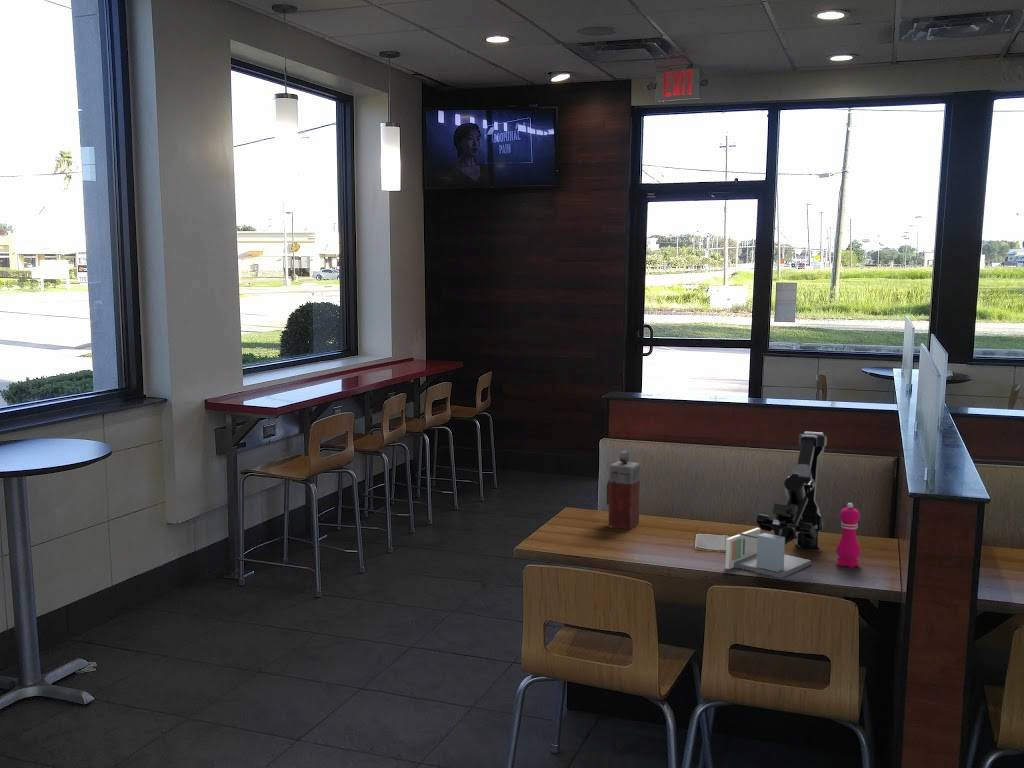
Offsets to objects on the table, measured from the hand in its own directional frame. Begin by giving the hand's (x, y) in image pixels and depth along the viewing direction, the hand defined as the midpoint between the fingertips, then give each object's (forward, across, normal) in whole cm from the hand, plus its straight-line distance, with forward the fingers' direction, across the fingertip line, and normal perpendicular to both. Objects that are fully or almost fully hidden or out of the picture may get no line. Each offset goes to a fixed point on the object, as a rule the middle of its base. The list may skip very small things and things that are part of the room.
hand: (775, 549), depth 277 cm
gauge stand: (+3, -4, +7) cm, 9 cm away
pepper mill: (-11, +13, +22) cm, 27 cm away
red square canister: (-3, -69, +13) cm, 70 cm away
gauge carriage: (+6, -4, +2) cm, 7 cm away
